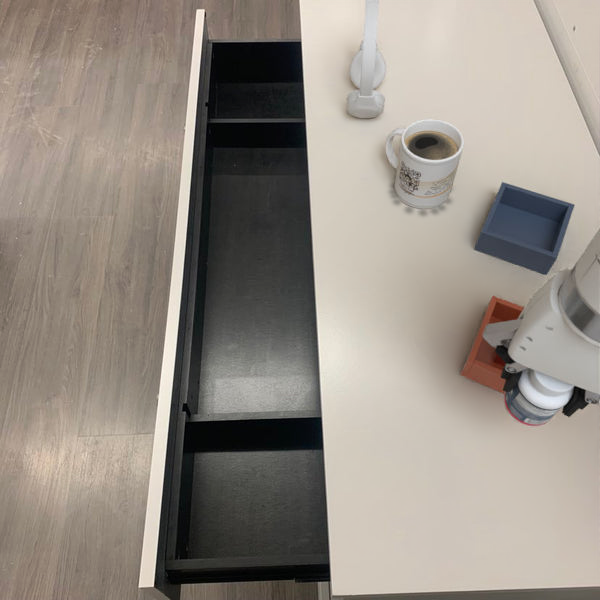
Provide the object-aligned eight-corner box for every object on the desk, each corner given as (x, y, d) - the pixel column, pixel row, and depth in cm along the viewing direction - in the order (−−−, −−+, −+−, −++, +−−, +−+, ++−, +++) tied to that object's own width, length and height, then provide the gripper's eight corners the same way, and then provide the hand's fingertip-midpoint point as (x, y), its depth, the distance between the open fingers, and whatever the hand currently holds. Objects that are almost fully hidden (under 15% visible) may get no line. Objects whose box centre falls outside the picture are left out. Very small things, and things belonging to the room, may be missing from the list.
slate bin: (563, 223, 88) (574, 204, 84) (546, 275, 83) (557, 258, 79) (494, 200, 91) (502, 181, 87) (473, 249, 86) (480, 232, 82)
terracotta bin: (563, 341, 77) (575, 326, 73) (542, 410, 72) (555, 398, 68) (484, 311, 80) (492, 295, 76) (459, 375, 75) (467, 361, 71)
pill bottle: (520, 372, 60) (546, 336, 52) (562, 403, 57) (596, 369, 50) (492, 405, 58) (516, 372, 50) (535, 438, 56) (566, 408, 48)
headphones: (384, 73, 110) (394, -27, 93) (382, 134, 101) (393, 35, 84) (350, 72, 111) (354, -28, 94) (344, 133, 101) (347, 34, 84)
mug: (397, 213, 91) (406, 166, 81) (381, 164, 97) (387, 114, 87) (457, 204, 91) (472, 156, 82) (437, 155, 97) (449, 105, 88)
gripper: (752, 299, 38) (633, 393, 54) (515, 225, 43) (467, 331, 59) (745, 387, 35) (620, 460, 50) (488, 296, 40) (445, 389, 55)
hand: (538, 390), depth 54 cm, fingers closed on pill bottle, 5 cm apart
